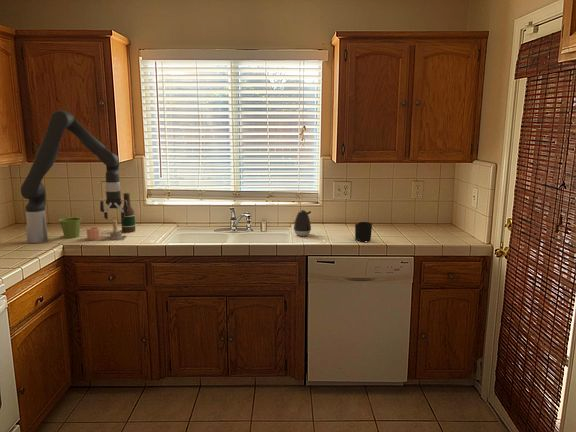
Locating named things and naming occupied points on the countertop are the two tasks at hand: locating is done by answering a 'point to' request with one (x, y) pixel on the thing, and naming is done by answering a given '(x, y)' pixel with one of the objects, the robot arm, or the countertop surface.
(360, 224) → the pen holder
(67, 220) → the plant pot
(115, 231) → the birch dowel
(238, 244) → the countertop surface
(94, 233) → the terracotta cup
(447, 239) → the countertop surface
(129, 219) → the beer bottle
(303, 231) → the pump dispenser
